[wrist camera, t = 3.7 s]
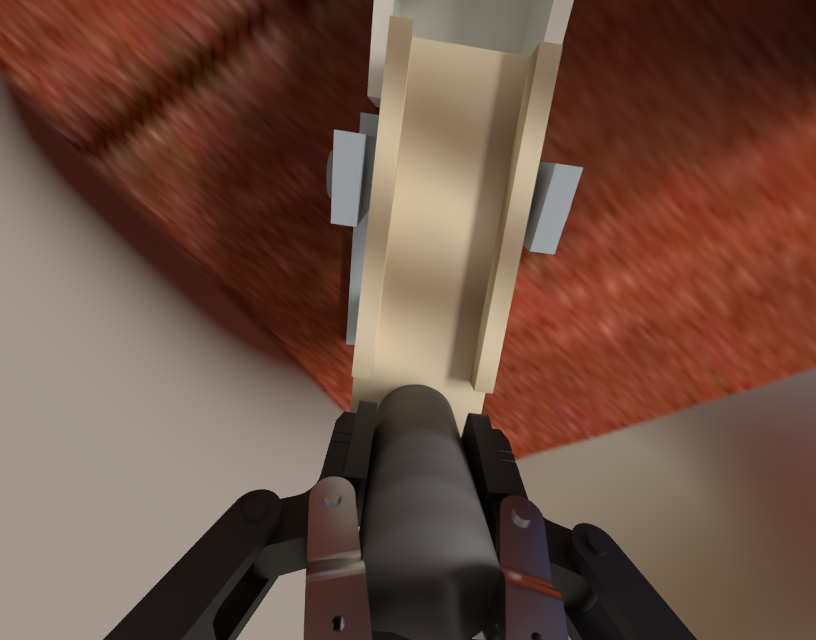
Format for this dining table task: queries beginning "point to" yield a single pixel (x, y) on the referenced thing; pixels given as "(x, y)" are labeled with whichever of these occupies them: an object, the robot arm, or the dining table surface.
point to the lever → (440, 314)
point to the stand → (353, 193)
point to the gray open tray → (468, 27)
